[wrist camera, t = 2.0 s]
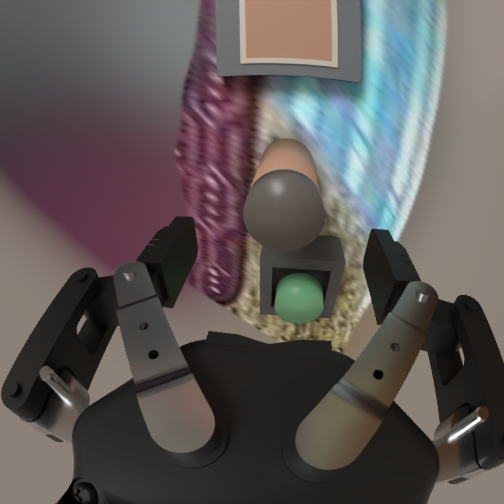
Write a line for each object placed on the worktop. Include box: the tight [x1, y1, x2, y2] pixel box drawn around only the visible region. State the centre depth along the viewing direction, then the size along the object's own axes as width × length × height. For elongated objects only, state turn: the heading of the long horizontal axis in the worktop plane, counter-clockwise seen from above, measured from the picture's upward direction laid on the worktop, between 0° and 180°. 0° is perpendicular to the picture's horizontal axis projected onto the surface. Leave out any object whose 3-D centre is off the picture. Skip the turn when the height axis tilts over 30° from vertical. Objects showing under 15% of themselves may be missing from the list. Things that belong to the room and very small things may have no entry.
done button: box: [275, 273, 324, 323], centre depth 23 cm, size 4×4×2 cm
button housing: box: [260, 236, 345, 318], centre depth 25 cm, size 7×7×4 cm
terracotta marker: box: [243, 139, 325, 251], centre depth 17 cm, size 4×4×9 cm
